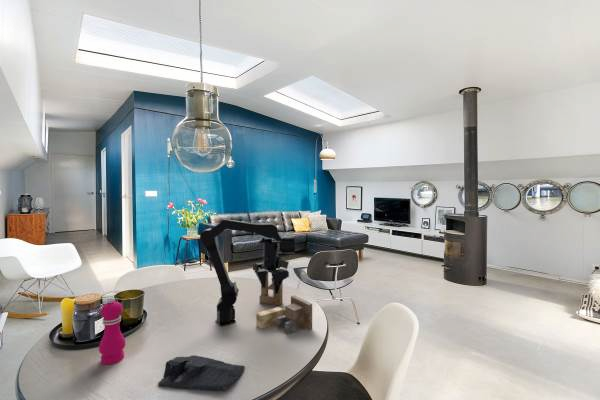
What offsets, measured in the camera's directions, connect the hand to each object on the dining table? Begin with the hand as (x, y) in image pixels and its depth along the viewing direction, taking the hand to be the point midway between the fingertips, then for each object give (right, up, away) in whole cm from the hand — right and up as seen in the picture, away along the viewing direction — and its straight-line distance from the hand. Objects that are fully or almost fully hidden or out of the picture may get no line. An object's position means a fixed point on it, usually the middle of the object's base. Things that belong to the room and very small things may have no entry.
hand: (269, 290), depth 125 cm
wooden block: (-1, -12, +19) cm, 22 cm away
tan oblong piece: (+2, -12, -2) cm, 13 cm away
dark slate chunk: (-16, -14, -38) cm, 43 cm away
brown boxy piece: (+10, -12, -6) cm, 17 cm away
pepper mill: (-47, -13, -29) cm, 57 cm away
